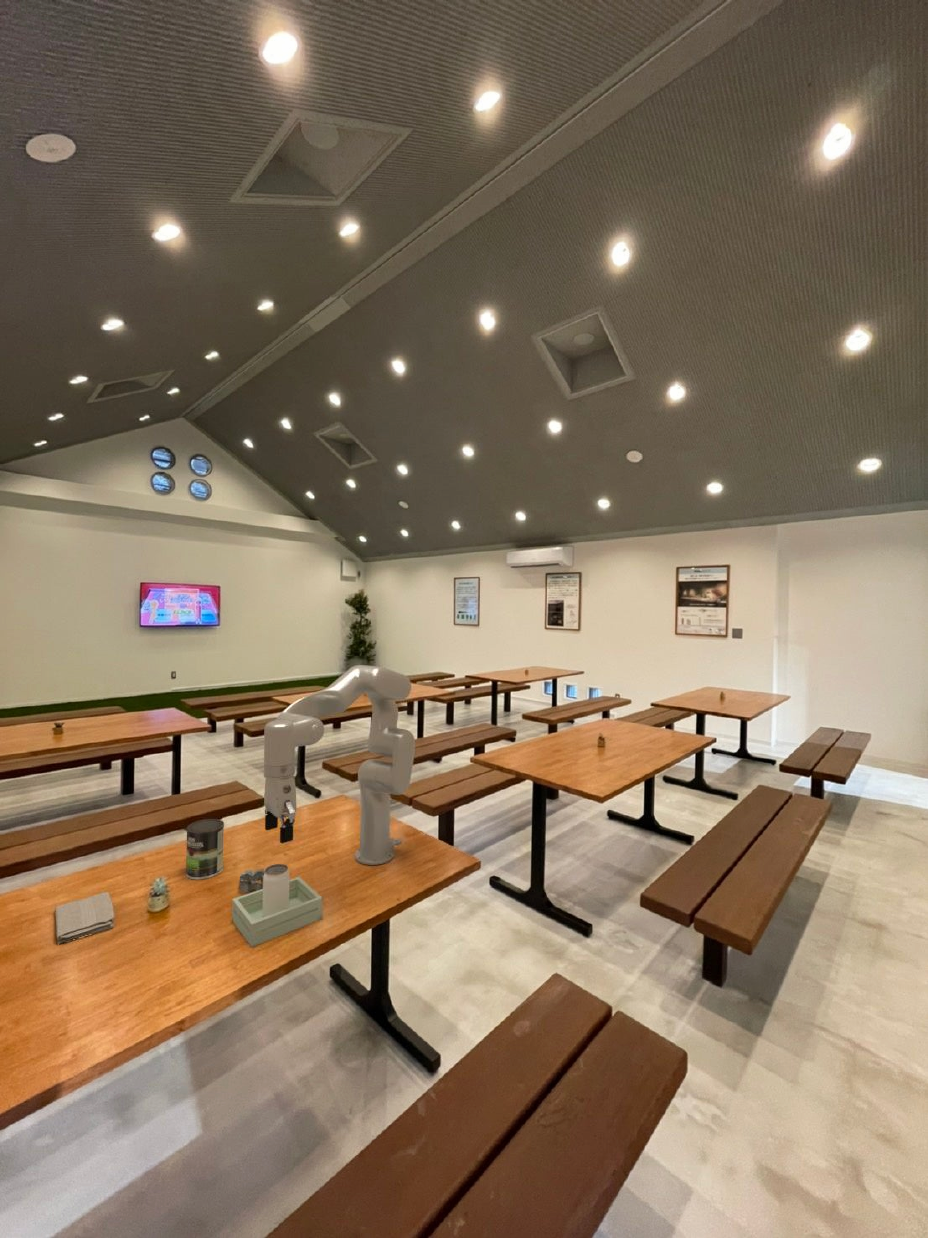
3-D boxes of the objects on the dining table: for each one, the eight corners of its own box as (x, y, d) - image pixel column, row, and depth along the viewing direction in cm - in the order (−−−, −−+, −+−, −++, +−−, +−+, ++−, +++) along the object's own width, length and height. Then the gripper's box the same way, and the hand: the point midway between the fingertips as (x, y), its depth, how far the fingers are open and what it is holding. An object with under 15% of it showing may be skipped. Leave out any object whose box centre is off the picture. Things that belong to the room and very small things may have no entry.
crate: (298, 896, 147) (299, 876, 147) (321, 918, 137) (322, 897, 136) (231, 920, 135) (232, 899, 135) (251, 947, 125) (251, 924, 124)
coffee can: (203, 883, 153) (203, 835, 153) (177, 875, 157) (178, 828, 156) (231, 867, 162) (231, 822, 162) (206, 860, 166) (207, 816, 166)
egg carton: (237, 895, 147) (237, 881, 147) (240, 882, 154) (240, 868, 154) (277, 890, 150) (277, 876, 150) (278, 877, 157) (278, 863, 157)
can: (265, 908, 139) (266, 863, 139) (291, 907, 140) (291, 862, 140) (259, 922, 133) (260, 875, 133) (286, 921, 134) (286, 874, 133)
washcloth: (56, 949, 123) (56, 936, 123) (52, 914, 137) (52, 902, 137) (117, 929, 131) (117, 917, 131) (107, 898, 145) (107, 887, 145)
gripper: (308, 774, 131) (307, 842, 132) (280, 759, 144) (279, 820, 144) (278, 781, 126) (277, 851, 127) (252, 764, 139) (251, 828, 139)
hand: (278, 835), depth 136 cm, fingers open, 9 cm apart
